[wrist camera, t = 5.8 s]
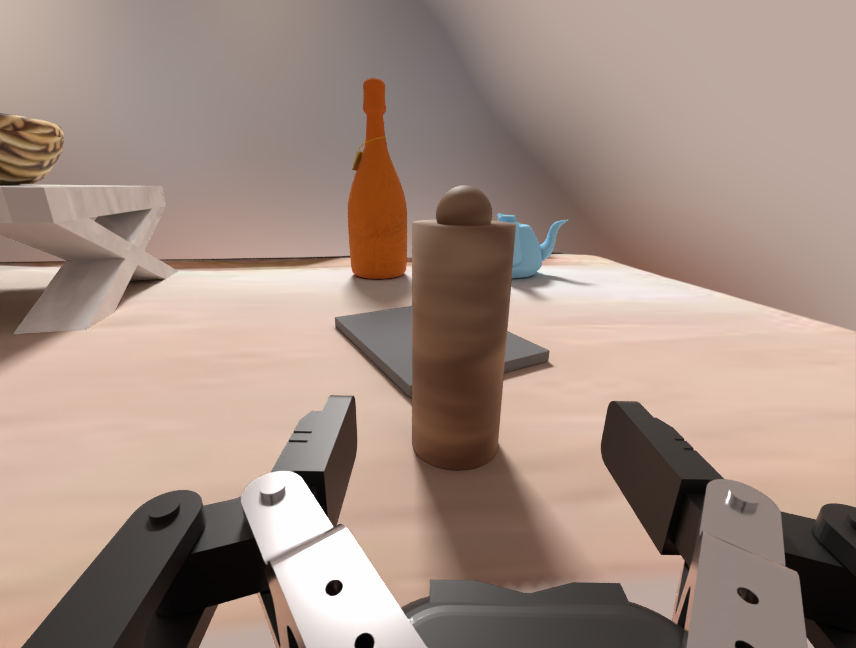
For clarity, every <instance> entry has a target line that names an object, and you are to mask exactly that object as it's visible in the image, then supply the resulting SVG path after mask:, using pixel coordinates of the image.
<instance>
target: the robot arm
mask: <svg viewBox="0 0 856 648" xmlns="http://www.w3.org/2000/svg"><path fill="white" fill-rule="evenodd" d="M356 451H357V425H356V406H355V398H354V396H334V395H331V396H329V398H328V400H327V402H326V404H325V406H324V408H323V410H322V411H311V412H310V413H309V414H307V415H306V416H305V417H303V418H302V419H301V420H300V421H299V423H298V425H297V426H296V428H295V430H294V433H292V435H291V437H290V439H289V442H287V444H286V446H285V448H284V449H283V451H282V453H281V455H280V457H279V458H278V460H277V462H276V464H275V465H274V467H273V469H272V471H271V473H268V474H265V475H263V476H260V477H259V478H257V479H255V480H254V481H252V482H251V483H250V484H249V485H248V486H247V487H246V488H245V489H244V491H243V493H242V496H241V497H239V498H236V499H232V500H228V501H223V502H219V503H214V504H209V505H205V506H203V503H202V499H201V497H200V496H199V494H197V493H196V492H193V491H189V490H177V491H172V492H168V493H165V494H162V495H159V496H157V497H155V498H153V499H151V500H149V501H148V502H146V503H145V504H143V505H142V506H140V507H139V508H138V509H137V510H136V511H135V512H134V513H133V514H132V515H131V516H130V518H129V519H128V520H127V521H126V522H125V524H124V525H123V526H122V527H121V528H120V530H119V531H118V532H117V533H116V534H115V536H114V537H113V538H112V539H111V540H110V542H109V543H108V544H107V545H106V546H105V548H104V549H103V550H102V551H101V552H100V554H99V555H98V556H97V557H96V558H95V560H94V561H93V562H92V563H91V564H90V566H89V567H88V568H87V569H86V570H85V572H84V573H83V574H82V575H81V577H80V578H79V579H78V580H77V581H76V583H75V584H74V585H73V586H72V587H71V589H70V590H69V591H68V592H67V593H66V595H65V596H64V597H63V598H62V599H61V601H60V602H59V603H58V604H57V605H56V607H55V608H54V609H53V610H52V611H51V613H50V614H49V615H48V616H47V617H46V619H45V620H44V621H43V622H42V623H41V625H40V626H39V627H38V628H37V629H36V631H35V632H34V633H33V634H32V635H31V637H30V638H29V639H28V640H27V641H26V643H25V644H24V645H23V646H22V647H21V648H199V646H200V644H201V641H202V639H203V637H204V635H205V632H206V630H207V628H208V626H209V624H210V621H211V619H212V617H213V615H214V612H215V610H216V608H217V606H218V604H221V603H224V602H228V601H231V600H235V599H238V598H242V597H245V596H249V595H252V594H255V593H257V594H258V597H259V600H260V603H261V606H262V609H263V611H264V614H265V617H266V620H267V623H268V626H269V629H270V631H271V634H272V637H273V640H274V643H275V646H276V648H808V647H807V639H806V637H807V638H808V640H809V641H810V642H811V644H812V645H813V646H814V647H815V648H856V508H855V507H852V506H848V505H843V504H826V505H824V506H823V507H822V508H821V510H820V512H819V515H818V517H817V519H816V520H815V519H811V518H806V517H802V516H798V515H793V514H789V513H785V512H780V510H779V508H778V506H777V505H776V504H775V503H774V502H773V501H772V500H771V499H770V498H769V497H767V496H766V495H765V494H763V493H762V492H760V491H758V490H756V489H755V488H752V487H750V486H748V485H746V484H743V483H740V482H737V481H732V480H727V479H724V478H723V477H722V476H721V475H720V474H719V473H718V472H717V471H716V470H715V469H714V468H713V467H712V466H711V465H710V464H709V463H708V462H707V461H706V460H705V459H704V458H703V457H702V456H701V455H700V454H699V453H698V452H697V451H694V450H693V447H692V446H691V445H690V444H689V443H688V442H687V441H684V438H683V437H682V436H681V435H680V434H679V433H678V432H677V431H676V430H675V429H674V428H673V427H671V426H669V425H668V424H666V423H664V422H663V421H661V420H659V419H658V418H654V417H653V416H652V415H651V414H650V413H649V412H648V411H647V410H646V409H645V408H644V407H643V406H642V405H641V404H640V403H639V402H636V401H612V402H610V404H609V406H608V409H607V415H606V420H605V425H604V431H603V436H602V441H601V454H602V459H603V461H604V464H605V466H606V467H607V469H608V470H609V472H610V474H611V475H612V477H613V478H614V480H615V482H616V483H617V485H618V486H619V488H620V490H621V491H622V493H623V495H624V496H625V498H626V499H627V501H628V503H629V504H630V506H631V507H632V509H633V511H634V512H635V514H636V515H637V517H638V519H639V520H640V522H641V524H642V525H643V527H644V528H645V530H646V532H647V533H648V535H649V536H650V538H651V540H652V541H653V543H654V544H655V546H656V548H657V549H658V551H659V553H660V554H661V555H681V556H682V557H683V559H684V563H683V567H682V570H681V575H680V580H679V585H678V590H677V596H676V601H675V607H674V612H673V617H672V621H671V620H669V619H668V618H666V617H664V616H662V615H661V614H659V613H657V612H655V611H653V610H650V609H648V608H646V607H643V606H641V605H638V604H635V603H632V602H629V601H628V599H627V597H626V595H625V593H624V591H623V589H622V587H621V584H620V583H577V582H573V583H569V584H565V585H561V586H557V587H553V588H550V589H546V590H542V591H538V592H534V593H522V592H518V591H514V590H511V589H507V588H503V587H499V586H495V585H492V584H488V583H484V582H480V581H474V580H430V596H429V597H425V598H421V599H418V600H416V601H413V602H411V603H409V604H407V605H405V606H403V607H402V608H400V607H399V605H398V604H397V602H396V601H395V599H394V598H393V596H392V595H391V593H390V592H389V590H388V589H387V587H386V586H385V584H384V583H383V581H382V580H381V578H380V577H379V575H378V574H377V572H376V571H375V569H374V568H373V566H372V565H371V563H370V562H369V560H368V559H367V558H366V556H365V555H364V553H363V552H362V550H361V549H360V547H359V546H358V544H357V543H356V541H355V540H354V538H353V537H352V535H351V534H350V532H349V531H348V529H347V528H346V527H345V526H344V525H343V524H339V525H337V522H338V518H339V515H340V511H341V508H342V504H343V501H344V497H345V494H346V490H347V486H348V483H349V479H350V476H351V472H352V469H353V465H354V461H355V458H356Z"/></svg>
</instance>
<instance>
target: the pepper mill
mask: <svg viewBox="0 0 856 648" xmlns="http://www.w3.org/2000/svg"><path fill="white" fill-rule="evenodd" d="M491 220H492V208H491V204H490V202H489V200H488V198H487V197H486V195H485V194H484V193H483V192H482V191H480V190H479V189H477V188H475V187H472V186H458V187H455V188H452V189H451V190H449V191H448V192H446V193H445V194H444V195H443V197H442V198H441V200H440V201H439V204H438V206H437V210H436V219H435V220H420V221H415V222H412V445H413V448H414V450H415V452H416V453H417V455H418V456H419V457H420V458H421V459H423V460H424V461H426V462H427V463H429V464H431V465H434V466H436V467H439V468H444V469H450V470H467V469H473V468H476V467H480V466H482V465H484V464H486V463H487V462H489V461H490V460H491V459H492V458H493V457H494V456H495V454H496V452H497V448H498V436H499V424H500V412H501V400H502V388H503V376H504V364H505V352H506V340H507V328H508V316H509V304H510V292H511V280H512V268H513V256H514V243H515V231H516V224H514V223H509V222H502V221H491Z"/></svg>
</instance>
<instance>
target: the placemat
mask: <svg viewBox="0 0 856 648" xmlns="http://www.w3.org/2000/svg"><path fill="white" fill-rule="evenodd" d="M335 325H336V327H337V328H338V329H339V330H340V331H341V332H342V333H343V334H344V335H345V336H346V337H347V338H349V339H350V340H351V341H352V342H353V343H354V344H355V345H356V346H357V347H358V348H359V349H360V350H361V351H362V352H363V353H364V354H365V355H366V356H367V357H368V358H369V359H370V360H371V361H372V362H373V363H374V364H375V365H376V366H377V367H378V368H380V369H381V370H382V371H383V372H384V373H385V374H386V375H387V376H388V377H389V378H390V379H391V380H392V381H393V382H394V383H395V384H396V385H397V386H398V387H399V388H400V389H401V390H402V391H403V392H404V393H405V394H406V395H407V396H408V397H410V398H411V397H412V306H410V307H403V308H396V309H389V310H382V311H375V312H368V313H361V314H355V315H348V316H341V317H335ZM548 359H549V350H547V349H545V348H543V347H540V346H538V345H536V344H534V343H532V342H530V341H527V340H525V339H523V338H521V337H519V336H517V335H515V334H512V333H510V332H508V331H507V340H506V352H505V364H504V373H505V372H509V371H512V370H516V369H520V368H524V367H527V366H531V365H535V364H539V363H542V362H546V361H548Z"/></svg>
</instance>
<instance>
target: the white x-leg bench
mask: <svg viewBox="0 0 856 648" xmlns="http://www.w3.org/2000/svg"><path fill="white" fill-rule="evenodd" d="M63 142H64V135H63V130H62V129H61V127H60V126H58V125H56V124H54V123H51V122H48V121H44V120H38V119H34V118H28V117H22V116H16V115H9V114H2V113H0V235H1V236H4V237H7V238H9V239H12V240H15V241H17V242H20V243H22V244H25V245H27V246H30V247H33V248H35V249H38V250H41V251H43V252H46V253H48V254H51V255H54V256H57V257H59V258H62V259H64V260H66V261H65V263H64V264H63V265H62V267H61V268H60V269H59V271H58V272H57V274H56V275H55V276H54V278H53V279H52V281H51V282H50V283H49V285H48V286H47V288H46V289H45V290H44V292H43V293H42V294H41V296H40V297H39V299H38V300H37V301H36V303H35V304H34V306H33V307H32V308H31V310H30V311H29V312H28V314H27V315H26V317H25V318H24V319H23V321H22V322H21V324H20V325H19V326H18V328H17V329H16V330H15V332H14V333H13V334H26V333H41V332H56V331H72V330H87V329H89V328H90V327H92V326H93V325H95V324H96V323H98V322H100V321H101V320H103V319H104V318H106V317H107V316H109V315H111V314H112V313H114V312H115V310H116V308H117V306H118V304H119V302H120V300H121V298H122V296H123V294H124V291H125V289H126V287H127V285H128V283H129V281H130V280H155V279H167V278H168V277H170V276H171V275H173V274H175V273H176V272H178V271H177V270H175V269H173V268H172V267H170V266H168V265H167V264H165V263H163V262H162V261H160V260H158V259H156V258H155V257H153V256H151V255H150V254H148V253H146V252H145V249H146V246H147V244H148V242H149V240H150V238H151V236H152V234H153V232H154V230H155V228H156V226H157V224H158V222H159V220H160V218H161V216H162V213H163V212H164V209H165V207H166V203H165V198H164V193H163V188H162V186H101V185H99V186H98V185H95V186H94V185H22V184H31V183H32V184H33V183H36V182H38V181H40V180H41V179H43V178H44V177H45V176H46V175H47V174H48V173H49V172H50V171H51V169H52V168H53V166H54V165H55V163H56V161H57V160H58V158H59V155H60V153H61V150H62V148H63ZM97 216H98V217H97ZM90 217H97V218H96V220H95V221H93V220H91V219H89V218H90Z"/></svg>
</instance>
